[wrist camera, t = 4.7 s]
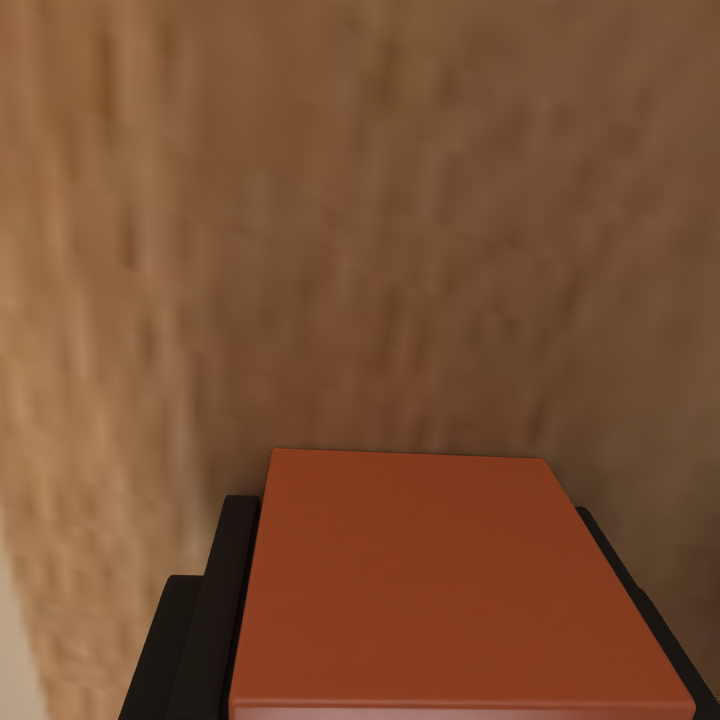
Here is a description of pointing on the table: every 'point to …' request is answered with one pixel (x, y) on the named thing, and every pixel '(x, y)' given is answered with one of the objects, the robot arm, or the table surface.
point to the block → (437, 599)
